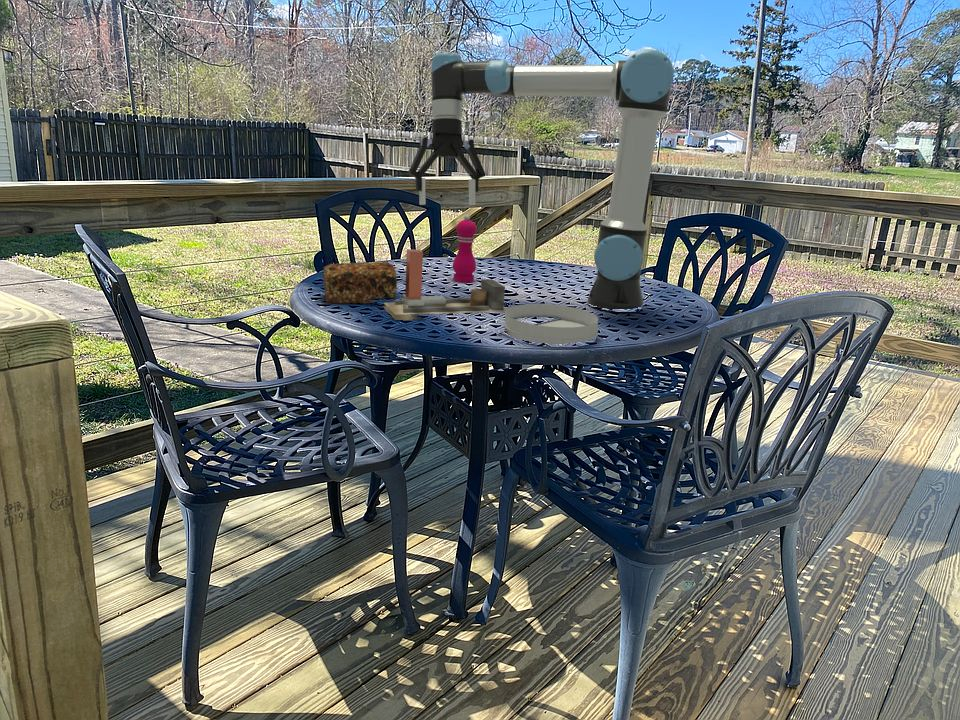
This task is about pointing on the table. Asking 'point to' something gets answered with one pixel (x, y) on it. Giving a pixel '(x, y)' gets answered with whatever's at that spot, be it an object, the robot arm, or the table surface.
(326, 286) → the bread
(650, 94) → the robot arm
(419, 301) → the carriage
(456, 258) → the pepper mill
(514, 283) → the table surface
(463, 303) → the board
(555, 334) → the dish
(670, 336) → the table surface
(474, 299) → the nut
